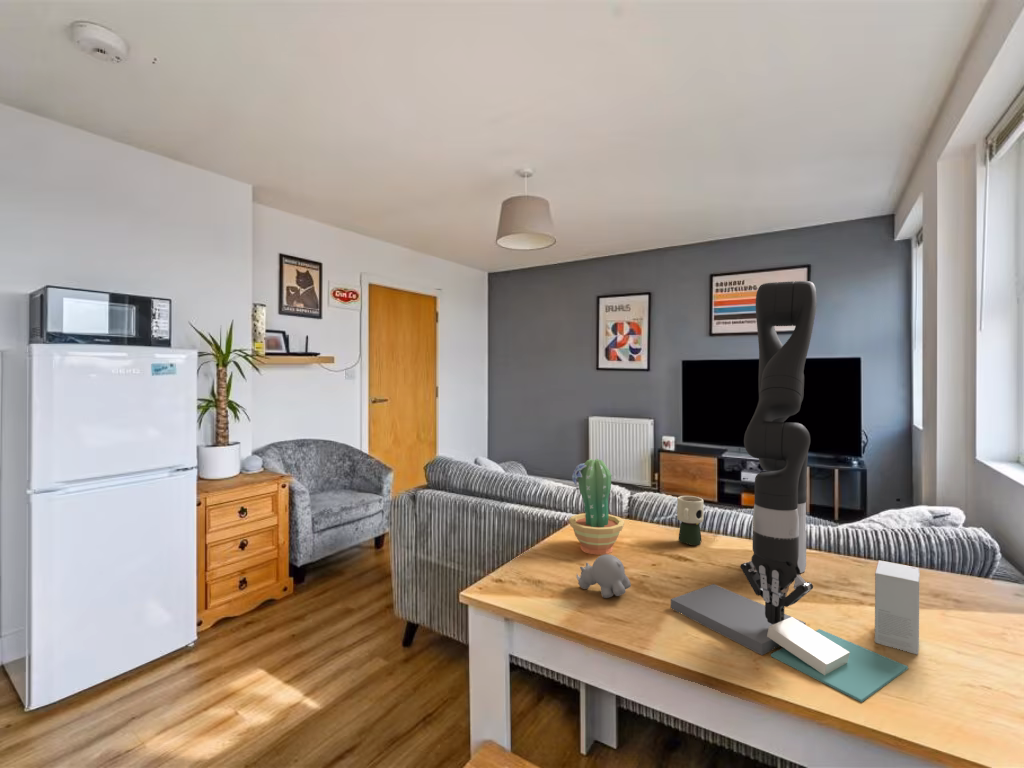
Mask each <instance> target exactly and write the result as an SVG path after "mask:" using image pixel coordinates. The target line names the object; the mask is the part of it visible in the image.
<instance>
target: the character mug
mask: <svg viewBox="0 0 1024 768" xmlns="http://www.w3.org/2000/svg"><path fill="white" fill-rule="evenodd" d="M676 502H677V505H676V507H677V508H676V509H677V510H676V511H677V512H676V513H677V515H676V517H677V520H678V521H680V525H679V532H678V541H679V542H681V543H683V544H687V545H688V546H690V545H692V546H699V545H701V544H702V541H703V540H702V534H701V526H700V524H701V523H703V521H704V499H703V498H702V497H699V496H693V495H680V496H677V501H676Z"/></svg>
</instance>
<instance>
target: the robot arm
mask: <svg viewBox="0 0 1024 768" xmlns="http://www.w3.org/2000/svg"><path fill="white" fill-rule="evenodd" d="M817 296H818V295H817V289H816V286H815V284H814V283H813V282H812V281H810V280H809V281H808V280H794V281H793V280H792V281H777V282H776V281H773V282H765V283H762V284H761V285H760V286H758V288H757V291H756V295H755V319H756V330H757V338H758V339H757V341H758V353H759V354H758V402H757V405H756V408H755V411H754V413H753V416H752V418H751V420H750V422H749V423H748V425H747V427H746V430H745V433H744V437H743V446H744V449H745V450H746V453H747V454H748V455H749V456H750V457H752V458H754V459H758V463H759V465H760V467H761V469H762V470H764V471H761V472H759V473H757V474H756V475H755V478H754V503H753V504H754V505H753V512H752V552H753V554H752V556H751V558H750V559H751V560H750V561H746V562H744V563H741V564H740V569H741V571H742V572H743V575H744V576H745V579H746V580H747V581H748V583H749V584H750V585H749V586H750V587H751V589H752V591H753V592H754V594H755V595H756V596H760V597H761V598H762V599H763V601H764V605H765V616H766V618H767V621H768V622H769V623H771V624H776V623H778V622H781V621H783V620H784V614H785V608H788V607H790V606H792V605H794V604H796V603H797V602H799V600H801V599H802V598H803V597H804V596H806V595H807V594H808V593H810V592H811V591H812V590H813V589H814V585H813V584H812V582H810V581H805V579H804V578H803V577H802V576H801V574H802V573H804V572H805V571H806V567H807V530H806V529H807V525H806V524H807V470H808V461H809V449H810V445H811V434H810V432H809V430H808V429H807V428H806V426H805V425H803V424H802V423H799V422H790V421H789V422H787V421H786V420H787V419H788V418H790V417H792V416H794V415H796V414H797V413H799V412H800V410H801V405H802V402H803V400H804V395H805V394H804V392H805V391H804V389H805V374H804V370H805V364H806V360H807V355H808V351H809V348H810V344H811V339H812V336H813V335H812V334H813V327H814V324H815V318H816V313H817V300H818V299H817ZM775 327H794V329H793V331H792V334H791V335H790V337H789V338H788V339H787V340H786V341H785V343H784V344H783V343H782V342H781V340H780V338H779V336H778V334H777V330H776V328H775ZM793 583H794V584H793ZM792 584H793V589H794V590H792V591H791V592H790V593H789V594H788V592H789V590H790V585H792ZM787 594H788V595H787Z"/></svg>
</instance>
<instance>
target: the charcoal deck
mask: <svg viewBox="0 0 1024 768" xmlns="http://www.w3.org/2000/svg"><path fill="white" fill-rule="evenodd" d="M671 608H672V609H671ZM670 609H671V610H673V609H674V610H673V611H675V610H676V611H675V612H677V613H679V612H680V613H679V614H681V613H682V614H683V616H684V615H685V617H686V616H687V617H686V618H688V617H689V618H688V619H690V620H692V621H694V622H696V623H698V624H701V625H702V626H704V627H706V628H708V629H710V630H712V631H714V632H716V633H718V634H719V635H722V636H723V637H725V638H728V639H730V640H731V641H733V642H736V643H737V644H739V645H741V646H744V647H745V648H746V649H749V650H750V651H752V652H755V653H756V654H758V655H761V656H763V655H766V654H768V653H770V652H771V651H773V650H775V649H777V648H779V647H781V646H780V645H779V644H777V643H776V642H774V641H773V640H772V639H770V638H769V637H767V634H768V628H769V626H771V625H773V624H771V623H769V622H768V621H767V618H766V616H765V604H762V603H759V602H757V601H755V600H752V599H750V598H748V597H746V596H743V595H740V594H738V593H736V592H734V591H732V590H730V589H727V588H724V587H723V586H722V587H721V586H720V585H717V584H715V583H712V584H709V585H707V586H704V587H701V588H698V589H696V590H692V591H690V592H687V593H684V594H681V595H679V596H676V597H673V598H670ZM682 614H681V615H682ZM790 617H792V616H791V615H790V614H789V615H788V614H786V613H784V620H785V619H788V618H790ZM794 618H795V617H794ZM795 619H797V620H798V621H800V622H801V623H803V624H805V625H806V626H807V624H806V622H805V621H803V620H800V619H798V618H795Z"/></svg>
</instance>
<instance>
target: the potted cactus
mask: <svg viewBox="0 0 1024 768" xmlns="http://www.w3.org/2000/svg"><path fill="white" fill-rule="evenodd" d="M571 478H572V479H571V480H572V482H573V483H574V486H578V490H579V493H580V495H581V497H582V502H583V507H584V508H583V509H584V513H579V514H575V515H571V517H570V518H569V519H568V522H569V526H570V527H571V528H572V530H573V532H574V535H575V538H576V539H577V540H578V542H579V543H580V550H581V551H582V552H584V553H587V554H591V555H600V556H601V555H605V554H610V553H612V552H613V550H614V548H613V546H614V544H615V543H616V542H617V540H618V538H619V535H620V532H622V530H623V529H624V525H625V520H624V519H622V518H621V517H620V516H616V515H612V514H610V513H609V497H610V493H611V490H612V473H611V470H610V469H609V468H608V466H607V465H606V463H605V462H604V461H603V459H600V460H599V458H596V459H592V458H589V459H587V460H586V461H585V462H584V463H579V464H578V465H576V467H575V469H574V470H573V473H572V476H571ZM577 481H578V482H577ZM577 483H578V485H577Z"/></svg>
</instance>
